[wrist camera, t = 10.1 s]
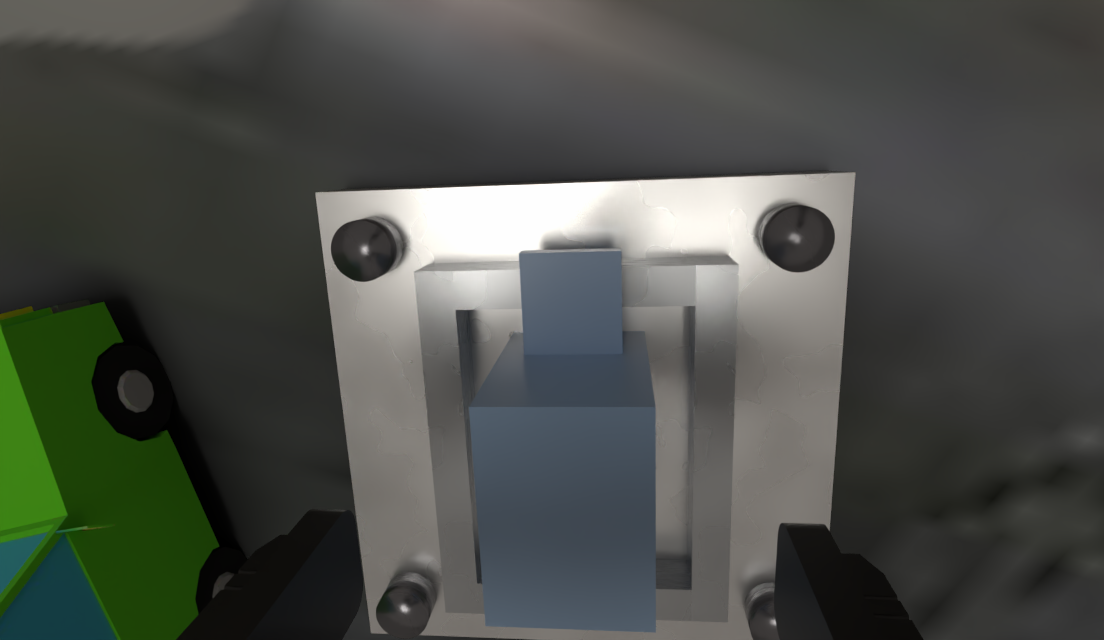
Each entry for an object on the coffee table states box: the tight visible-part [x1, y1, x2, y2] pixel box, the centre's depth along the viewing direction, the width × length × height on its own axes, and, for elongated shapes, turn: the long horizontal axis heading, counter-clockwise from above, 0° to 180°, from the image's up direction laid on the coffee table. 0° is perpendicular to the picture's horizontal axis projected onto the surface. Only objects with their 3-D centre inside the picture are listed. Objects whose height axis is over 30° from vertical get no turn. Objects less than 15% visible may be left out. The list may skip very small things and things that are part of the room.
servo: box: [469, 248, 656, 633], centre depth 16 cm, size 10×4×6 cm, turn 2°
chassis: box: [315, 171, 855, 640], centre depth 19 cm, size 14×14×3 cm
